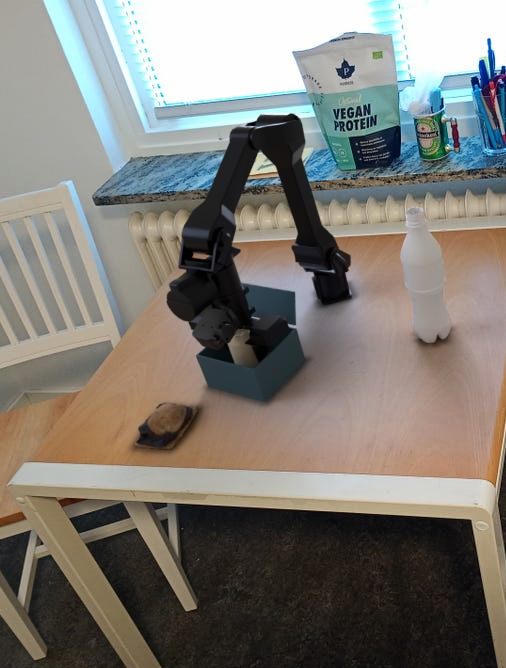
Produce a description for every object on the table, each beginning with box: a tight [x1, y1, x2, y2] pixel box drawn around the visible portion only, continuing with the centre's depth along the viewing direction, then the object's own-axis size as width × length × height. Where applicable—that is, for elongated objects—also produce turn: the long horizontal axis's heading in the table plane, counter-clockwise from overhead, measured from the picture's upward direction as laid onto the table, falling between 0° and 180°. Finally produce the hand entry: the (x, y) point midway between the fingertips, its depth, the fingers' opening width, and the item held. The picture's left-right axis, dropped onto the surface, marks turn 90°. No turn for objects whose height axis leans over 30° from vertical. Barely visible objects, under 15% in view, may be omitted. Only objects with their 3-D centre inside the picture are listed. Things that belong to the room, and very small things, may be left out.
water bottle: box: [400, 206, 452, 344], centre depth 126 cm, size 7×7×25 cm
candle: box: [228, 329, 259, 369], centre depth 131 cm, size 6×6×10 cm
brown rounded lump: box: [134, 402, 199, 451], centre depth 125 cm, size 11×8×4 cm
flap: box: [241, 281, 297, 326], centre depth 132 cm, size 6×14×1 cm
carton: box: [195, 326, 307, 404], centre depth 132 cm, size 13×14×7 cm
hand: (250, 361), depth 132 cm, fingers closed on candle, 5 cm apart
